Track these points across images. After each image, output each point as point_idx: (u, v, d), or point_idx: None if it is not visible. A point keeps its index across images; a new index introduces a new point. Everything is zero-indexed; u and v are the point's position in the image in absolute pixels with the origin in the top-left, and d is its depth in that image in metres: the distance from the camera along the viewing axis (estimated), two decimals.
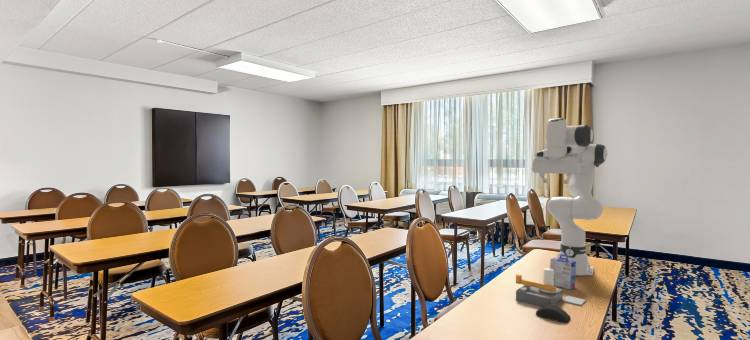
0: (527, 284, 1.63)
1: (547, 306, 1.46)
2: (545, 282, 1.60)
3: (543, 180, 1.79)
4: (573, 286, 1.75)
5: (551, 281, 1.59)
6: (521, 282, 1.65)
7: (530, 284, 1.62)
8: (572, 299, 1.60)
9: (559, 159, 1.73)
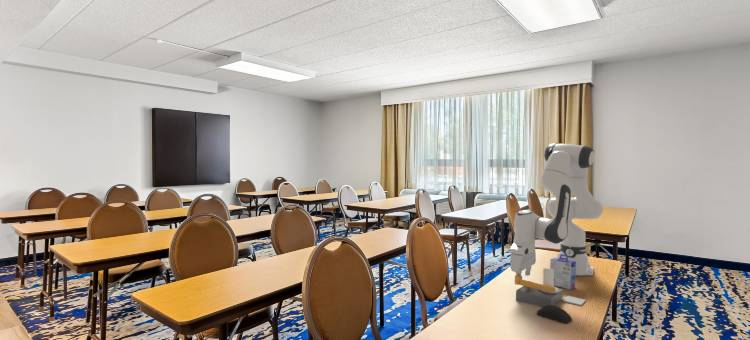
0: (525, 285, 1.62)
1: (548, 306, 1.45)
2: (545, 282, 1.60)
3: (521, 278, 1.66)
4: (573, 286, 1.75)
5: (551, 281, 1.59)
6: (520, 283, 1.64)
7: (529, 285, 1.61)
8: (572, 299, 1.60)
9: None
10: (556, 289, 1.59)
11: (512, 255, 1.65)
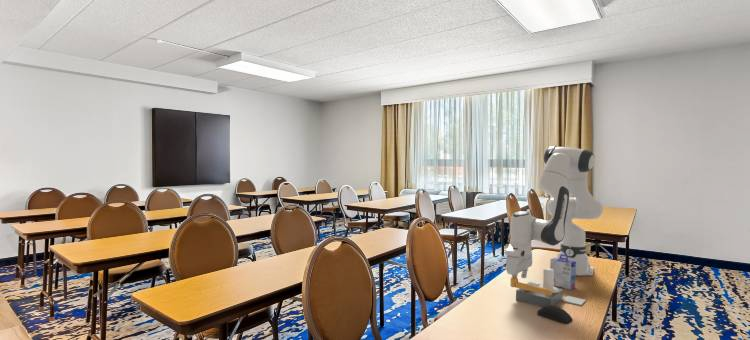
0: (521, 288, 1.59)
1: (549, 306, 1.45)
2: (545, 282, 1.60)
3: (517, 280, 1.63)
4: (573, 286, 1.75)
5: (551, 281, 1.59)
6: (516, 285, 1.60)
7: (525, 287, 1.58)
8: (572, 299, 1.60)
9: None
10: (556, 289, 1.59)
11: (508, 257, 1.62)
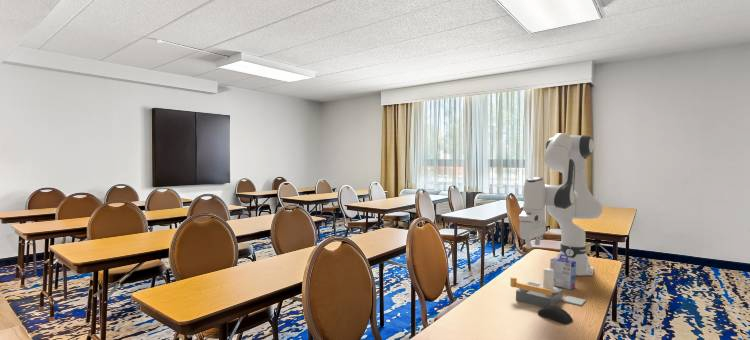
0: (521, 288, 1.59)
1: (549, 306, 1.45)
2: (545, 282, 1.60)
3: (530, 246, 1.62)
4: (573, 286, 1.75)
5: (551, 281, 1.59)
6: (516, 285, 1.60)
7: (525, 287, 1.58)
8: (572, 299, 1.60)
9: None
10: (556, 289, 1.59)
11: (521, 222, 1.60)
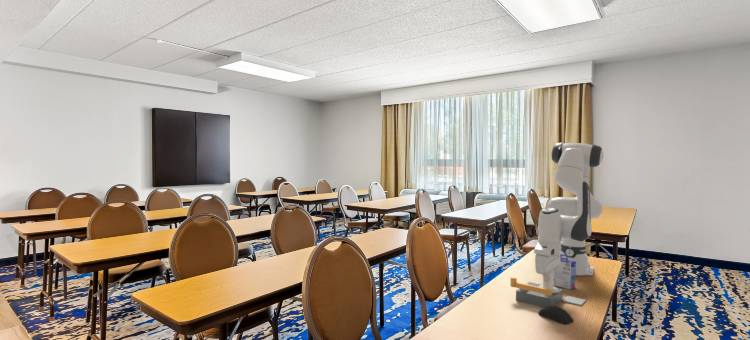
0: (521, 288, 1.59)
1: (550, 306, 1.45)
2: (545, 282, 1.60)
3: (548, 279, 1.58)
4: (573, 286, 1.75)
5: (551, 281, 1.59)
6: (516, 285, 1.60)
7: (525, 287, 1.58)
8: (572, 299, 1.60)
9: None
10: (556, 289, 1.59)
11: (537, 256, 1.55)
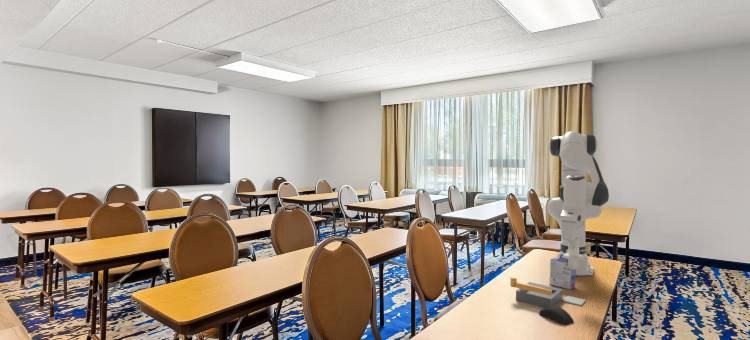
0: (521, 288, 1.59)
1: (551, 307, 1.45)
2: (571, 249, 1.58)
3: (574, 246, 1.56)
4: (573, 286, 1.75)
5: (577, 248, 1.57)
6: (516, 285, 1.60)
7: (525, 287, 1.58)
8: (572, 299, 1.60)
9: None
10: (582, 256, 1.57)
11: (563, 222, 1.53)
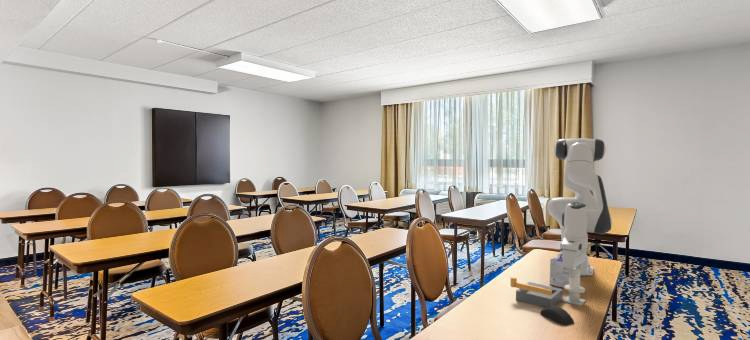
0: (521, 288, 1.59)
1: (552, 307, 1.45)
2: (572, 282, 1.58)
3: (573, 275, 1.55)
4: None
5: (578, 281, 1.57)
6: (516, 285, 1.60)
7: (525, 287, 1.58)
8: None
9: None
10: (583, 289, 1.58)
11: (564, 251, 1.53)
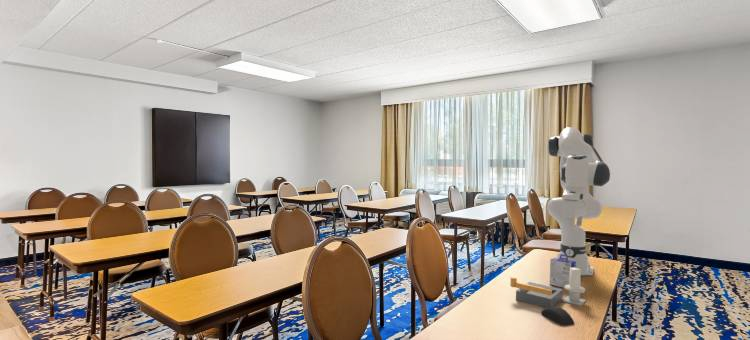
0: (521, 288, 1.59)
1: (553, 307, 1.44)
2: (572, 282, 1.58)
3: (574, 226, 1.54)
4: None
5: (578, 281, 1.57)
6: (516, 285, 1.60)
7: (525, 287, 1.58)
8: None
9: None
10: (583, 289, 1.58)
11: (565, 201, 1.53)
